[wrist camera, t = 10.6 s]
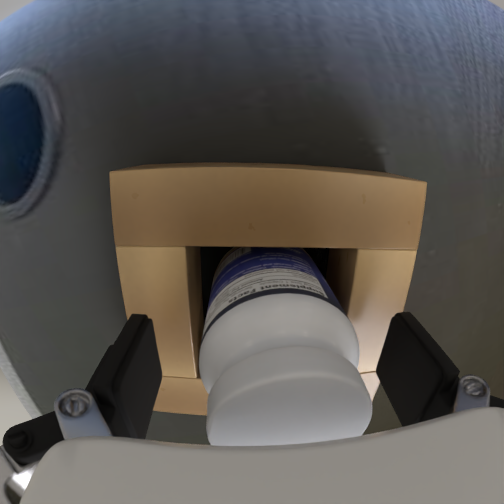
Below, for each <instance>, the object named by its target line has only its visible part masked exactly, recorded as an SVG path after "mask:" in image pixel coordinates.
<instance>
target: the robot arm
mask: <svg viewBox="0 0 504 504" xmlns="http://www.w3.org/2000/svg"><path fill="white" fill-rule="evenodd" d="M459 372H460V371H459V370H458V368H457V367H456V366H455V365H454V363H453V362H452V361H451V360H450V358H449V357H448V356H447V355H446V353H445V352H444V351H443V350H442V349H441V347H440V346H439V345H438V344H437V343H436V341H435V340H434V339H433V338H432V337H431V335H430V334H429V333H428V332H427V331H426V330H425V328H424V327H423V326H422V325H421V324H420V323H419V322H418V320H417V319H416V318H415V317H414V316H413V315H412V314H411V313H410V312H400V313H396V314H395V316H394V317H392V318H391V321H390V324H389V328H388V332H387V335H386V338H385V342H384V345H383V348H382V351H381V354H380V357H379V361H378V364H377V367H376V374H377V376H378V378H379V380H380V382H381V384H382V386H383V388H384V390H385V392H386V394H387V396H388V398H389V400H390V402H391V404H392V406H393V408H394V410H395V412H396V414H397V416H398V418H399V420H400V422H401V424H402V426H403V427H400V428H396V429H392V430H387V431H383V432H378V433H373V434H368V435H362V436H356V437H350V438H344V439H337V440H330V441H321V442H312V443H301V444H288V445H268V446H216V445H198V444H183V443H171V442H162V441H153V440H145V437H146V433H147V430H148V426H149V422H150V419H151V415H152V412H153V408H154V405H155V401H156V398H157V394H158V391H159V388H160V384H161V381H162V368H161V364H160V359H159V353H158V348H157V343H156V337H155V332H154V326H153V320H152V319H151V318H148V316H147V315H146V314H131V316H130V317H129V319H128V321H127V322H126V324H125V326H124V328H123V329H122V331H121V333H120V334H119V336H118V338H117V340H116V341H115V343H114V345H110V346H109V348H108V349H107V351H106V353H105V355H104V356H103V358H102V360H101V362H100V363H99V365H98V367H97V369H96V370H95V372H94V374H93V376H92V378H91V379H90V381H89V383H88V385H87V387H86V389H85V390H84V389H81V388H73V389H69V390H66V391H64V392H63V393H61V394H60V395H59V396H58V397H57V399H56V400H55V404H54V408H55V411H53V412H51V413H48V414H45V415H43V416H40V417H37V418H35V419H32V420H29V421H26V422H24V423H21V424H18V425H15V426H13V427H11V428H10V429H9V430H7V431H6V433H5V435H4V437H3V445H2V446H0V504H504V400H503V399H500V398H497V397H494V396H491V395H490V389H489V386H488V384H487V382H486V381H485V380H484V379H482V378H481V377H479V376H476V375H471V374H470V375H465V376H463V377H461V378H460V379H459V377H458V374H459Z"/></svg>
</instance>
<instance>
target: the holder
mask: <svg viewBox="0 0 504 504" xmlns="http://www.w3.org/2000/svg"><path fill="white" fill-rule="evenodd" d="M426 188H427V182H424V181H420V180H416V179H412V178H408V177H404V176H400V175H396V174H391V173H387V172H378V171H370V170H360V169H350V168H339V167H327V166H313V165H297V164H275V163H171V164H150V165H139V166H134V167H129V168H124V169H120V170H115V171H111V172H110V193H111V208H112V219H113V230H114V239H115V245H116V254H117V261H118V268H119V275H120V282H121V288H122V294H123V299H124V305H125V310H126V315H127V320H128V319H129V317H130V316H131V314H146V315H147V316H148V318H151V319H152V320H153V326H154V332H155V337H156V343H157V348H158V353H159V359H160V364H161V368H162V381H161V384H160V388H159V391H158V394H157V398H156V401H155V405H154V408H153V411H162V412H172V413H182V414H196V415H207V401H208V396H209V394H208V393H207V391H206V389H205V387H204V385H203V382H202V379H201V376H200V370H199V354H200V344H201V340H202V335H203V330H204V314H203V297H202V277H201V253H200V246H214V247H293V248H329V255H328V263H327V272H326V279H325V280H326V282H327V283H328V285H329V287H330V288H331V290H332V292H333V293H334V295H335V297H336V298H337V300H338V302H339V303H340V305H341V306H342V308H343V310H344V311H345V313H346V315H347V317H348V318H349V320H350V321H351V323H352V325H353V327H354V330H355V332H356V335H357V338H358V342H359V351H360V355H359V364H358V368H357V369H358V371H359V373H360V375H361V377H362V379H363V381H364V383H365V386H366V388H367V390H368V393H369V395H370V398H371V401H373V398H374V396H375V393H376V391H377V388H378V386H379V383H380V380H379V378H378V376H377V374H376V367H377V364H378V361H379V357H380V354H381V351H382V348H383V345H384V342H385V338H386V335H387V332H388V328H389V324H390V321H391V318H392V317H394V316H395V314H396V313H400V312H403V309H404V305H405V301H406V298H407V294H408V290H409V285H410V281H411V277H412V272H413V268H414V263H415V258H416V253H417V249H418V244H419V238H420V232H421V226H422V219H423V212H424V205H425V197H426Z"/></svg>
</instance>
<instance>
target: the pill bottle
mask: <svg viewBox="0 0 504 504" xmlns="http://www.w3.org/2000/svg"><path fill="white" fill-rule="evenodd" d="M359 355H360V351H359V342H358V338H357V335H356V332H355V330H354V327H353V325H352V323H351V321H350V320H349V318H348V317H347V315H346V313H345V311H344V310H343V308H342V306H341V305H340V303H339V302H338V300H337V298H336V297H335V295H334V293H333V292H332V290H331V288H330V287H329V285H328V283H327V282H326V280H325V279H324V277H323V275H322V274H321V272H320V271H319V269H318V267H317V266H316V264H315V263H314V261H313V260H312V258H311V257H310V255H309V254H308V253H307V252H306V251H305V250H304V249H303V248H293V247H233V248H232V249H231V250H230V251H228V252H227V254H226V255H225V256H224V257H223V258H222V260H221V261H220V263H219V264H218V266H217V269H216V271H215V274H214V278H213V282H212V287H211V293H210V298H209V304H208V309H207V314H206V320H205V325H204V330H203V335H202V340H201V344H200V354H199V370H200V376H201V379H202V382H203V385H204V387H205V389H206V391H207V393H208V394H209V396H208V401H207V423H206V431H207V437H208V440H209V442H210V444H211V445H216V446H268V445H288V444H301V443H312V442H321V441H330V440H337V439H344V438H350V437H356V436H361V435H362V434H363V433H364V431H365V430H366V428H367V426H368V424H369V422H370V420H371V416H372V401H371V398H370V395H369V393H368V390H367V388H366V386H365V383H364V381H363V379H362V377H361V375H360V373H359V371H358V369H357V368H358V364H359Z"/></svg>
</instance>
